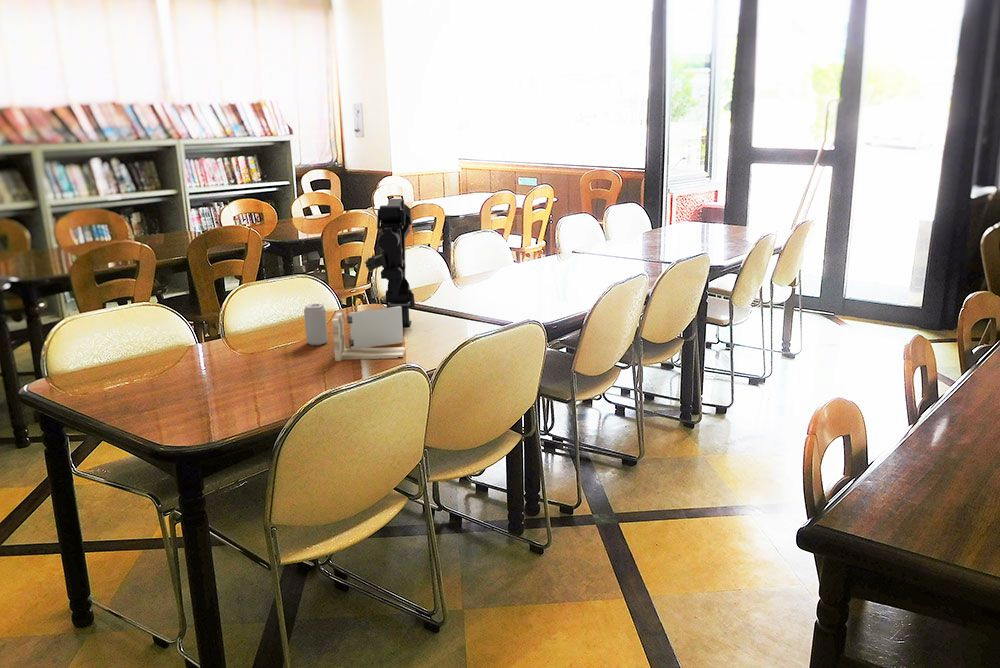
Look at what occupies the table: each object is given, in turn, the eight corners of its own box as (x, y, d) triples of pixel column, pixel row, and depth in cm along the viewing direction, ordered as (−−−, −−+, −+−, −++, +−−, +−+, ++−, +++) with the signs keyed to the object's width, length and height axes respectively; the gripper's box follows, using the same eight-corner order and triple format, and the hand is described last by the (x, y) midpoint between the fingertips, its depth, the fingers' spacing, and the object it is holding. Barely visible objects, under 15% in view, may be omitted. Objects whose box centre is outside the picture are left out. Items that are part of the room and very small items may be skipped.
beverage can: (330, 340, 250) (327, 303, 247) (324, 346, 244) (321, 307, 241) (310, 340, 251) (307, 302, 247) (303, 346, 244) (300, 307, 241)
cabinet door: (348, 348, 239) (346, 312, 236) (401, 340, 246) (400, 306, 243) (350, 349, 238) (347, 313, 235) (403, 342, 245) (401, 307, 242)
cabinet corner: (340, 351, 238) (337, 312, 235) (405, 349, 239) (403, 310, 236) (335, 361, 229) (332, 320, 225) (402, 359, 229) (400, 318, 226)
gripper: (369, 242, 255) (372, 290, 259) (362, 251, 237) (365, 303, 241) (404, 241, 255) (406, 289, 259) (400, 250, 237) (402, 302, 241)
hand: (395, 296), depth 250 cm, fingers closed
